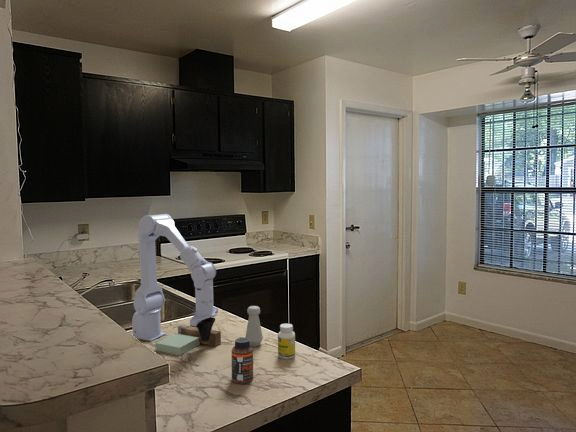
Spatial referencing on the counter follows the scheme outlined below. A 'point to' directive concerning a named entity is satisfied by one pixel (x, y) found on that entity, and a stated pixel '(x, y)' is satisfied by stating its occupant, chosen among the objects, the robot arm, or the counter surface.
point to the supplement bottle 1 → (242, 361)
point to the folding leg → (193, 331)
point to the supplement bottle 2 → (286, 341)
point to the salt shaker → (254, 327)
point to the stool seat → (177, 344)
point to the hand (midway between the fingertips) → (205, 340)
